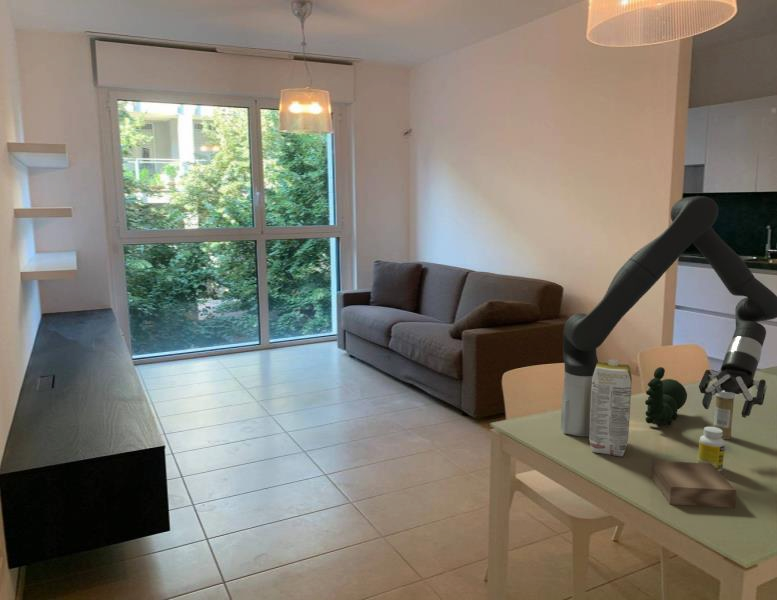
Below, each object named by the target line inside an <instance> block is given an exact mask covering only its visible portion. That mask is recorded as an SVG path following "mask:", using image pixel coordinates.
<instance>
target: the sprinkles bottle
mask: <svg viewBox="0 0 777 600" xmlns="http://www.w3.org/2000/svg"><path fill="white" fill-rule="evenodd" d="M735 397H736V394H734V393H732V392H725V391H722V392H720V393H717V394H715V406H714V414H713V415H714V417H713V427H716V428H719V429H721V430H722V431H723V434H722V437H721V438H722V439H723V440H729V439H731V438H732V427H733V421H734V420H733V418H734V416H733V415H734V400H735Z"/></svg>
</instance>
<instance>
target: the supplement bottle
mask: <svg viewBox="0 0 777 600" xmlns="http://www.w3.org/2000/svg"><path fill="white" fill-rule="evenodd" d="M722 434H723V431H722V430H721V429H719V428H716V427H714V426H705V427H704V428H703V434H702V435H701V436H700V437H699V442H698V443H699V444H698V452H697V453H698V454H697V463H711V464H712V465H713V466H714V467H715V468H716V469H717V470H718V471H719V472H721V471H723V467H724V458H725V457H724V456H725V447H726V443H725V439H722V438H721V437H722Z"/></svg>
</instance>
